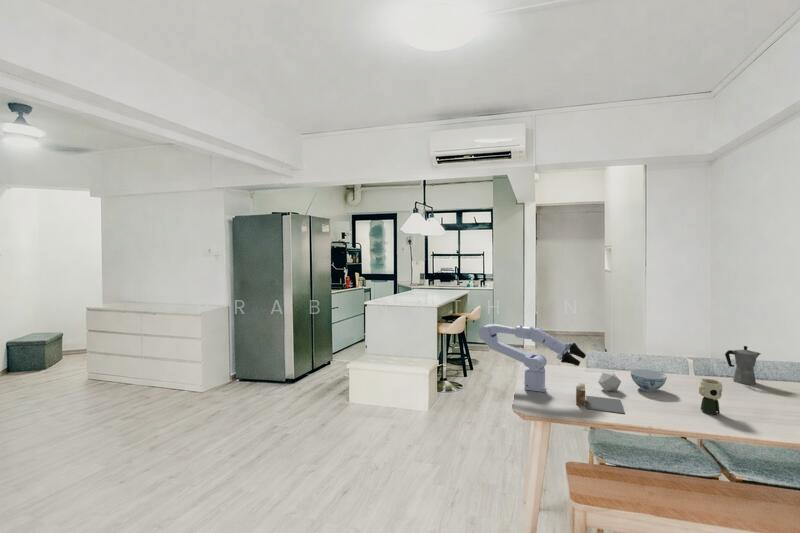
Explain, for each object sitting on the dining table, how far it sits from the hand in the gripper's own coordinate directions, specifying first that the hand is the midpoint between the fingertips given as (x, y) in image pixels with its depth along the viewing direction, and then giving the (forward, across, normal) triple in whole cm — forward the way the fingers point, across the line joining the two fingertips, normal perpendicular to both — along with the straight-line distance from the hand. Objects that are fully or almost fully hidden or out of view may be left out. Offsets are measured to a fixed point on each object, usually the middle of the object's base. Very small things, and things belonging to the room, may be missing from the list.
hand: (582, 360), depth 192 cm
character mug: (+50, +11, -1) cm, 51 cm away
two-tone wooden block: (+8, -10, +13) cm, 18 cm away
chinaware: (+28, +25, +13) cm, 40 cm away
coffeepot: (+62, +67, +8) cm, 92 cm away
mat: (+16, -7, +10) cm, 20 cm away
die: (+15, +14, +16) cm, 26 cm away
